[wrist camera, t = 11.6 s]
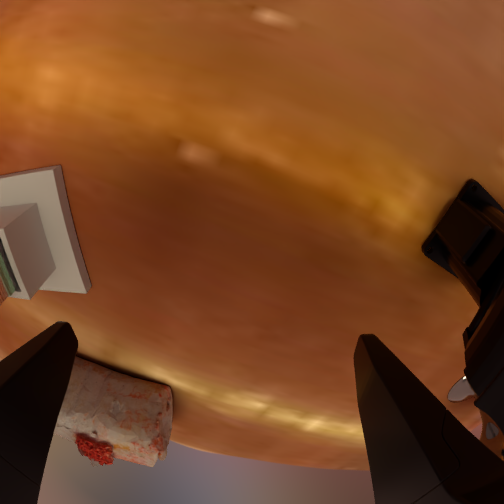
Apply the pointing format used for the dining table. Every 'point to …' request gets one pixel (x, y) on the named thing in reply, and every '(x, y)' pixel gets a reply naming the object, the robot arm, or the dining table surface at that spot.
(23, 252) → the stand base
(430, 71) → the dining table surface
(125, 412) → the food item
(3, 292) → the column
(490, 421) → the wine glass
